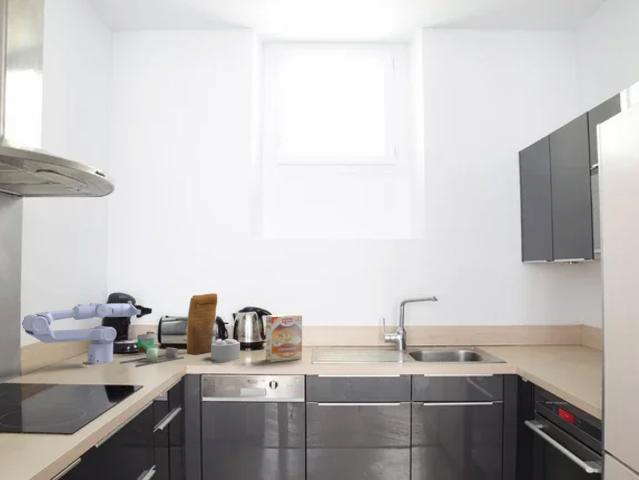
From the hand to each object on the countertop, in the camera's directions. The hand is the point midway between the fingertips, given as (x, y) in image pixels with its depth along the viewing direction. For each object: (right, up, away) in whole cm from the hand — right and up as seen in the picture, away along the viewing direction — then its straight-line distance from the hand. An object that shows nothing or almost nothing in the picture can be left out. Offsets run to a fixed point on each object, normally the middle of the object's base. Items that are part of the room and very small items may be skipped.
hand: (146, 309), depth 227 cm
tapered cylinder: (+8, -19, -16) cm, 26 cm away
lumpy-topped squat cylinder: (+37, -21, -7) cm, 43 cm away
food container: (-1, -22, +5) cm, 22 cm away
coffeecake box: (+63, -21, -7) cm, 67 cm away
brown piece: (+10, -20, -13) cm, 26 cm away
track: (+8, -21, -16) cm, 27 cm away
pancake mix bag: (+23, -22, +9) cm, 33 cm away
